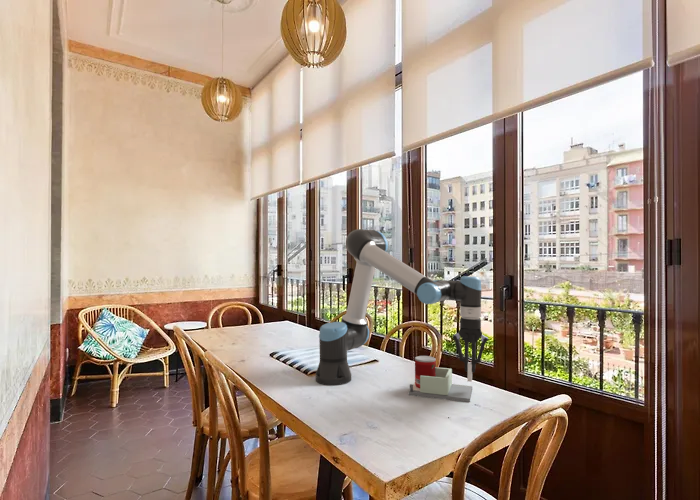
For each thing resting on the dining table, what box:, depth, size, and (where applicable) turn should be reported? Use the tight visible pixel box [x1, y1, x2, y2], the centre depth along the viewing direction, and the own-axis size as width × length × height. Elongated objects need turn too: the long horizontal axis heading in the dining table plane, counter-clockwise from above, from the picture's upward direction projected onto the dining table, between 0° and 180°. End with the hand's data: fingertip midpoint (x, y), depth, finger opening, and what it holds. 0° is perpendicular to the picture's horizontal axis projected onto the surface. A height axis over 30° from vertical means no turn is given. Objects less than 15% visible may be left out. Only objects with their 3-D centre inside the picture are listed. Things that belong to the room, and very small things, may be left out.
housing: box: [420, 367, 453, 395], centre depth 159 cm, size 10×14×6 cm
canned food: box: [414, 355, 437, 388], centre depth 161 cm, size 8×8×11 cm
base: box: [408, 382, 473, 403], centre depth 158 cm, size 22×15×4 cm
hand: (469, 380), depth 155 cm, fingers closed
